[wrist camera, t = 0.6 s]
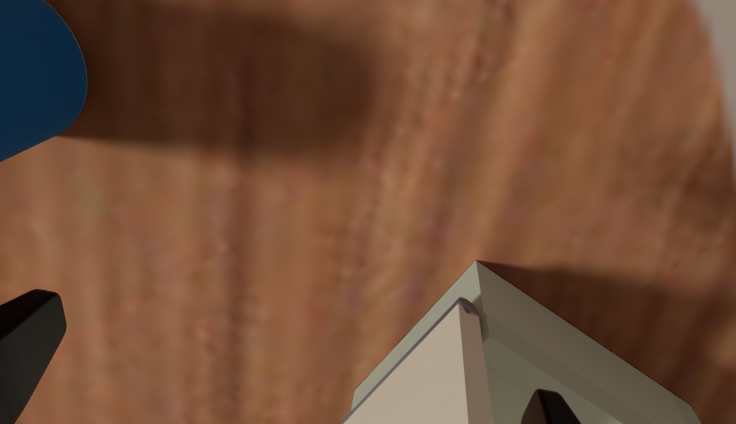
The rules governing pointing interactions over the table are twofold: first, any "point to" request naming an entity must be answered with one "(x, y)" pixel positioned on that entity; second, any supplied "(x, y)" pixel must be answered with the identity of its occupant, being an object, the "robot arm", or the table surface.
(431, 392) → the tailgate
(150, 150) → the table surface
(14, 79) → the beverage can
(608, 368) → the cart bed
